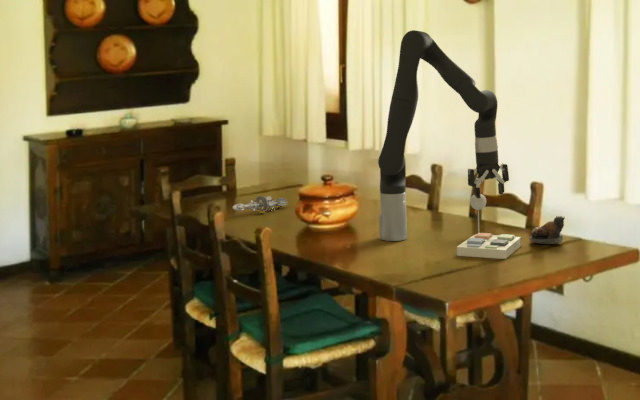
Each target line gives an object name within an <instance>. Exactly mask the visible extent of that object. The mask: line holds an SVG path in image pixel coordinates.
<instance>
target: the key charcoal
mask: <svg viewBox="0 0 640 400" xmlns="http://www.w3.org/2000/svg"><path fill="white" fill-rule="evenodd" d="M507 244H508V240H499V239H494V240H493V241H491V242H490V245H495V246H506V245H507Z"/></svg>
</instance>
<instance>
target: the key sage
mask: <svg viewBox="0 0 640 400" xmlns="http://www.w3.org/2000/svg"><path fill="white" fill-rule="evenodd" d="M514 236H515V234H509V233H508V234H506V233H505V234H503V233H501V234H499V236H498V237H497V239H499V240H508V241H512V240H513V239H514Z"/></svg>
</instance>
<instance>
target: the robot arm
mask: <svg viewBox="0 0 640 400" xmlns="http://www.w3.org/2000/svg"><path fill="white" fill-rule="evenodd" d="M400 42H401V43H400V47H399V49H400V50H399V58H398V67H397V73H396V77H395V80H394V85H393V86H394V87H393V89H392V95H391V99H390V100H391V101H390V103H389V108H388V109H389V111H388V117H387V124H386V125H387V126H386V134H385V137H384V140H383V141H384V142H383V145H382V148H381V150H380V154H379V156H378V159H377V162H378V163H377V164H378V168H379V174H380V175H379V177H380V180H379V193H380V195H379V198H380V213H378V226H379V227H378V228H379V229H378V230H379V240H381V241H382V240H383V241H387V242H398V241H405V240H407V239H408V226H407V225H408V223H407V221H408V220H407V195H406V193H407V192H406V189H407V188H406V185H407V184H406V183H407V178H406V177H407V176H406V174H407V172H406V170H407V169H406V157H405V149H406V143H407V142H406V141H407V138H408V134H409V132H410V130H411V127H412V125H413V121H414V118H415V114H416V110H417V106H418V101H419V85H418V70H419V69H418V68H419V65H420V62H421V61H420V60H422V61H424V62H426V63H428V65H430V66H431V67H432V68H434V70H436V71H437V73H438V74H439V75H440V77H441V78H442V80H443V81H444V82H445V83H446V84H447V85H448V86H449V87H450V88H451V89H452V90H453V91H454V92H456V93H457V94H458V95H459V96H460V97H461V99H462V100H463V102H464V104H466V106H467V107H468V109H470V110H471V111H473V112H475V113H477V114H478V116H477V117H478V118H477V119H476V120H475V122H474V151H475V164H476V168H467V185H468V186H469V187H472V188H473V195H475V197H476V198H481V197H480V194H481V187H480V186H481V184H482V183H483V182H484V180H485V181H486V180H489V179H490V180H491V179H492V180H494V179H495V180H496V181H497V191H498V195H501V196H502V195H504V193H505V184H506V182H509V180H510V176H509V169H508V168H509V166H508V164H506V163H501V164H499V151H498V148H499V146H498V140H497V131H496V130H497V129H496V120H497V112H498V99H497V96H496V94H495V92H494V91H493V90H491V89H485V90H480V89H478V88H477V86H476V81H475V79H474V78H473V77H472V76H470V75H469V74H468V73H467V72H466V71H465V70H464V69H462V68H461V67H460V66H459V65H458V63H457V64H456V62H454V61H453V60H452V59H451V58H450V57H449V56H448V55H447V54H446V53H445V52H444V51H443V50H442V48H440V45H438V44H437V42H436V41H435V40H434V39H433V37H431V35H430V34H429V33H427V32H426V31H421V30H415V29H413V30H409V31H407V32H406V33H405V34H403V36H402V39H401V41H400ZM499 171H501V175H500V174H499V173H498V172H499ZM476 174H477V175H476ZM475 175H476V177H475Z"/></svg>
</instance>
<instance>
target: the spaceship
mask: <svg viewBox="0 0 640 400" xmlns="http://www.w3.org/2000/svg"><path fill="white" fill-rule="evenodd" d="M254 199H255V200H254V201H253V199H251V200H249V202H248V203H246V204H244V203H235V204H233V205H232V210H234V211H235V212H239V211H244V210H245V209H248V210H252V212H255V211H256V210H255V209H257V210H262V211H263V210H265V211H266V212H268V209H269V210H270V208H272V209H273V208H274V209H275V206H282V207H285V206H288V204H289V202H288V199H287V198H284V197H282V196H280V197H278V198H274V199H272V197H271V195H270V196H264V195H258V196H257V197H256V198H254Z"/></svg>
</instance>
